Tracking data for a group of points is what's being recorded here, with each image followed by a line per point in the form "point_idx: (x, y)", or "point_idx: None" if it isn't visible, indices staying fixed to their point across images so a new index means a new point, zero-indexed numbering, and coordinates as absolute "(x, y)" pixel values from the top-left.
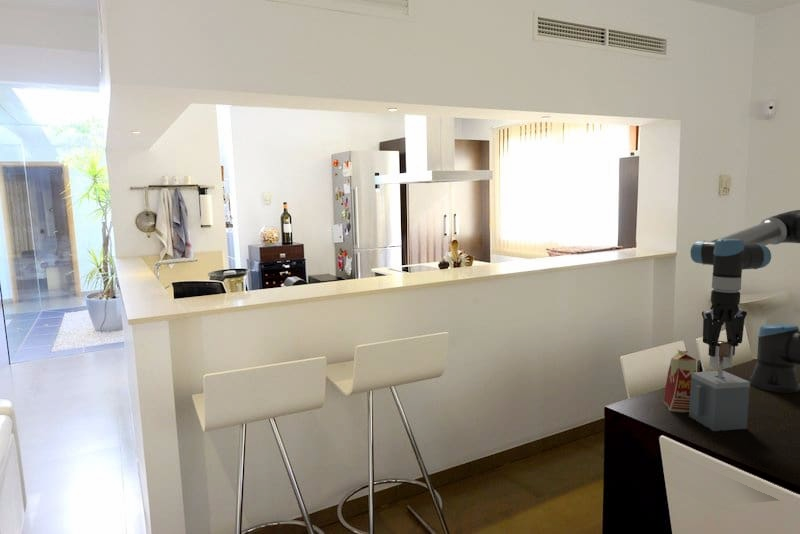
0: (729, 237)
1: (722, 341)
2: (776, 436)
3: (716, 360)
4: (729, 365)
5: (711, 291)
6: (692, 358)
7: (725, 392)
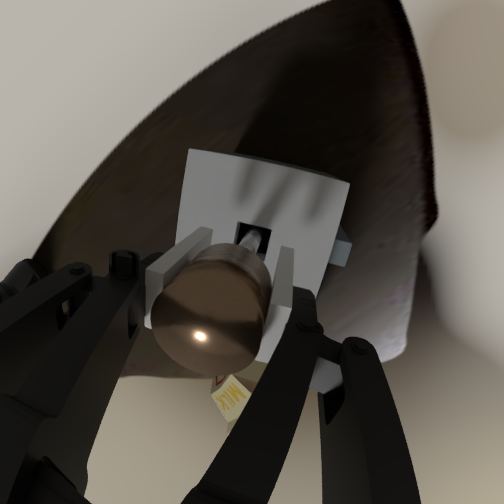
0: None
1: (176, 348)
2: (209, 98)
3: (292, 263)
4: (209, 234)
5: None
6: (239, 383)
7: (302, 169)
